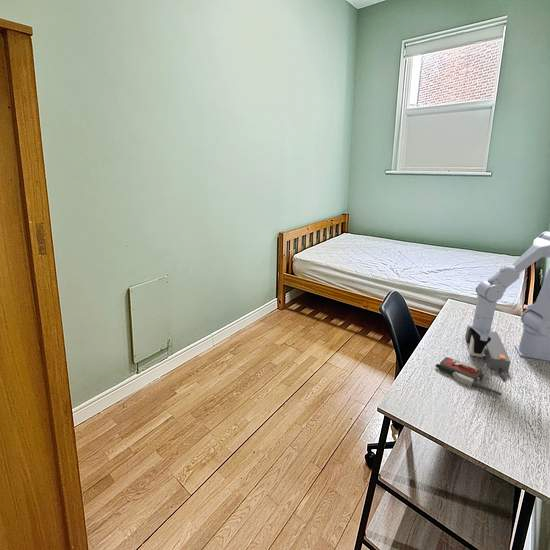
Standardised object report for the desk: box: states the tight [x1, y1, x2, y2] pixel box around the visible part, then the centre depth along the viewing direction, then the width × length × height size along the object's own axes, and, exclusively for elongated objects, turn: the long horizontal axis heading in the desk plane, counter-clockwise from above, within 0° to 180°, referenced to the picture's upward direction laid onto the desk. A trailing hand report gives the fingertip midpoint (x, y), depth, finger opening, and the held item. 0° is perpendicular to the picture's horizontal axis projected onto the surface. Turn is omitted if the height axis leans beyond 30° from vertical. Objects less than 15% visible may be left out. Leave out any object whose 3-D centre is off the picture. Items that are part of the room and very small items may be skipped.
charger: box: [468, 336, 488, 358], centre depth 127 cm, size 7×4×6 cm, turn 69°
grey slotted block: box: [464, 325, 511, 381], centre depth 126 cm, size 10×28×6 cm, turn 159°
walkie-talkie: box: [435, 356, 502, 397], centre depth 114 cm, size 9×4×20 cm
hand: (476, 349), depth 128 cm, fingers closed on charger, 4 cm apart
